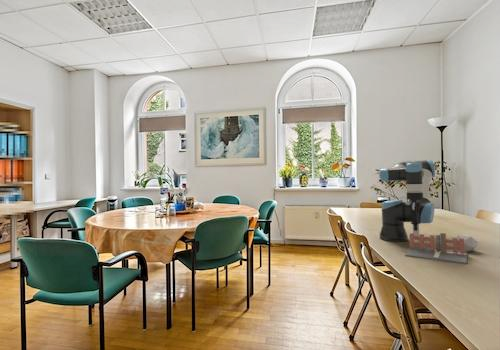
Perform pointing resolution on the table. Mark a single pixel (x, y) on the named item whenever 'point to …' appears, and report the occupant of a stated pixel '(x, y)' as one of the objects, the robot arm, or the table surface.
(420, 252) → the card
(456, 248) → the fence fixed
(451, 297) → the table surface
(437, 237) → the fence gate
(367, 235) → the table surface
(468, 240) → the grey rounded lump
